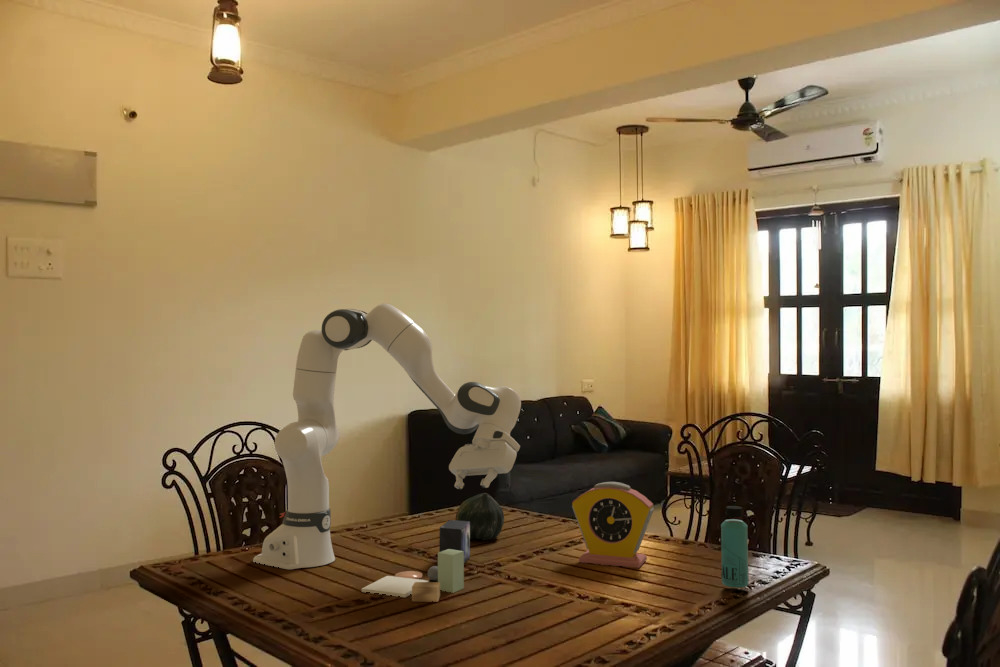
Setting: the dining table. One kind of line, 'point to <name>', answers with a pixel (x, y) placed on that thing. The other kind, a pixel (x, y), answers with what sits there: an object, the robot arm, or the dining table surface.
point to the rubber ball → (433, 573)
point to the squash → (482, 516)
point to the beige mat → (392, 586)
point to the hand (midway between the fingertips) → (470, 487)
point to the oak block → (426, 591)
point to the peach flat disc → (409, 574)
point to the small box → (455, 537)
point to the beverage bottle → (734, 549)
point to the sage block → (451, 570)
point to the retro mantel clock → (613, 524)
